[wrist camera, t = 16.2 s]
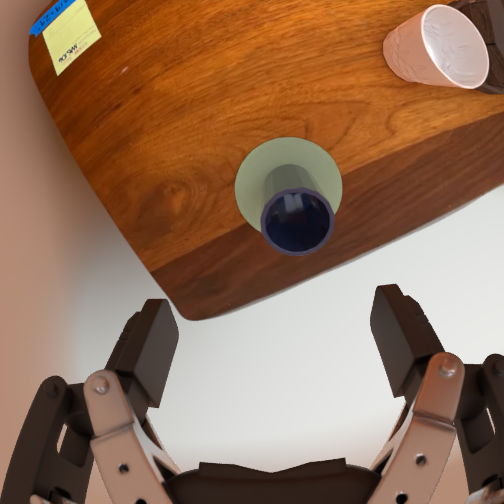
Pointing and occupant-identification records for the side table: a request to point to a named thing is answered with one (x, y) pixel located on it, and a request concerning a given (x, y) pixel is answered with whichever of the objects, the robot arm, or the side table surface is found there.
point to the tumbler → (295, 211)
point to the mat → (278, 155)
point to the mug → (488, 37)
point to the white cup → (438, 49)
